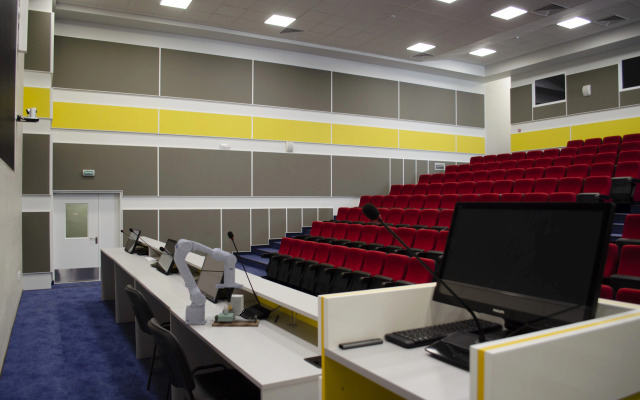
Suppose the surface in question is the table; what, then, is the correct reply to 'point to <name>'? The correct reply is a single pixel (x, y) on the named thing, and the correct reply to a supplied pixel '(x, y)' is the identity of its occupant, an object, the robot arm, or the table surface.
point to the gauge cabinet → (231, 312)
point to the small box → (237, 303)
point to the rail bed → (236, 323)
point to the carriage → (226, 315)
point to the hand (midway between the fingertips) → (229, 301)
